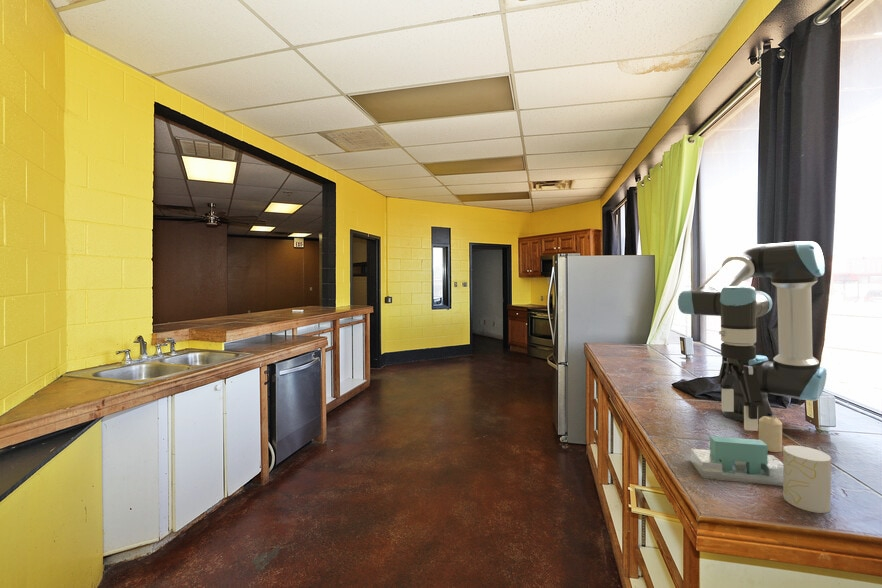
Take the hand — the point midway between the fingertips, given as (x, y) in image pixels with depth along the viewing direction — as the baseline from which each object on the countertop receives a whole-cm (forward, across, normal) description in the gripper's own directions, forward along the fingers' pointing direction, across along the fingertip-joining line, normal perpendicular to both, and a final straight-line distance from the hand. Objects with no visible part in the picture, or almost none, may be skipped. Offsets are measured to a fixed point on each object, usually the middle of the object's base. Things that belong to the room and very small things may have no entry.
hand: (738, 420), depth 104 cm
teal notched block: (+14, 0, 0) cm, 14 cm away
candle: (+15, -18, +16) cm, 29 cm away
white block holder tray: (+15, 0, 0) cm, 15 cm away
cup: (+15, +12, +9) cm, 21 cm away
